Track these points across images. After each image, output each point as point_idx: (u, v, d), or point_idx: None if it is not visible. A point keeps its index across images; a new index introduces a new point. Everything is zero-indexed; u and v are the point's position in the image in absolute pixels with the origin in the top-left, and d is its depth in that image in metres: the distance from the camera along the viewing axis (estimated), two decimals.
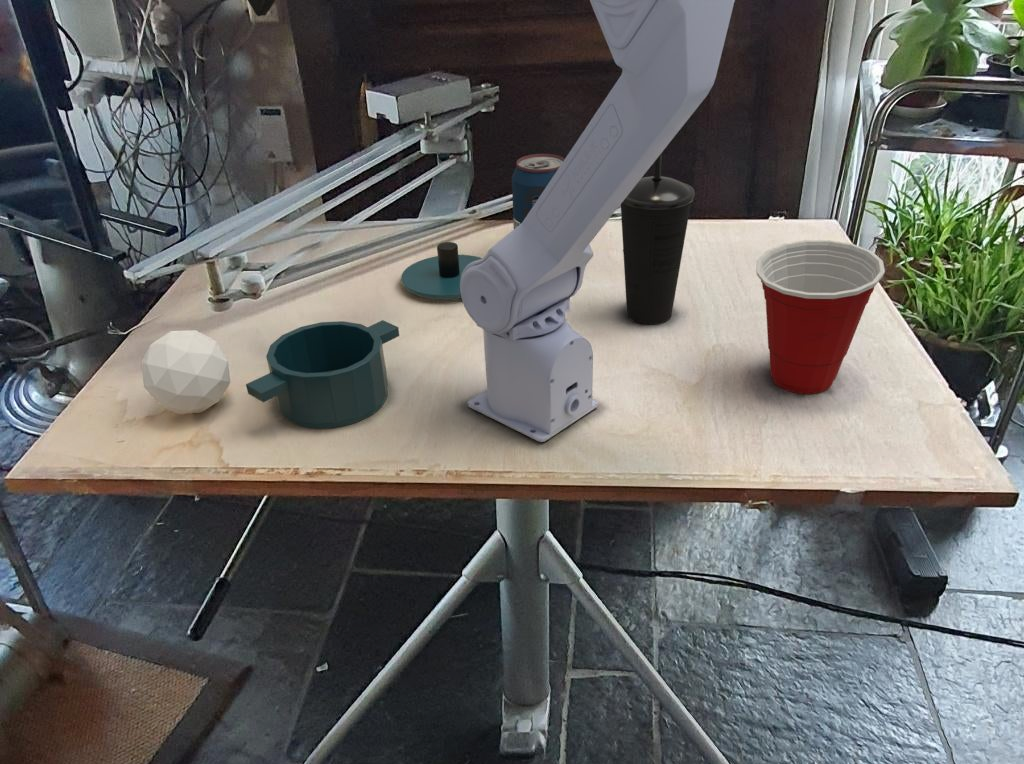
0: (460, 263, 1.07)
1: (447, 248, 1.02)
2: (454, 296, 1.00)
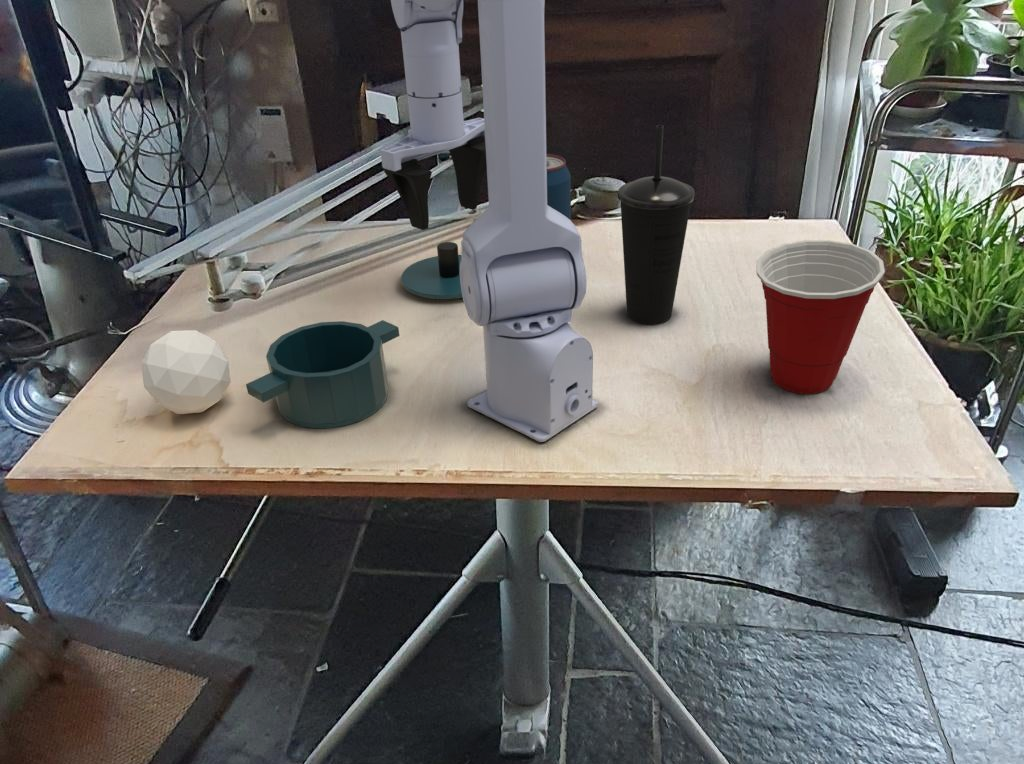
0: None
1: (447, 248, 1.02)
2: (454, 296, 1.00)
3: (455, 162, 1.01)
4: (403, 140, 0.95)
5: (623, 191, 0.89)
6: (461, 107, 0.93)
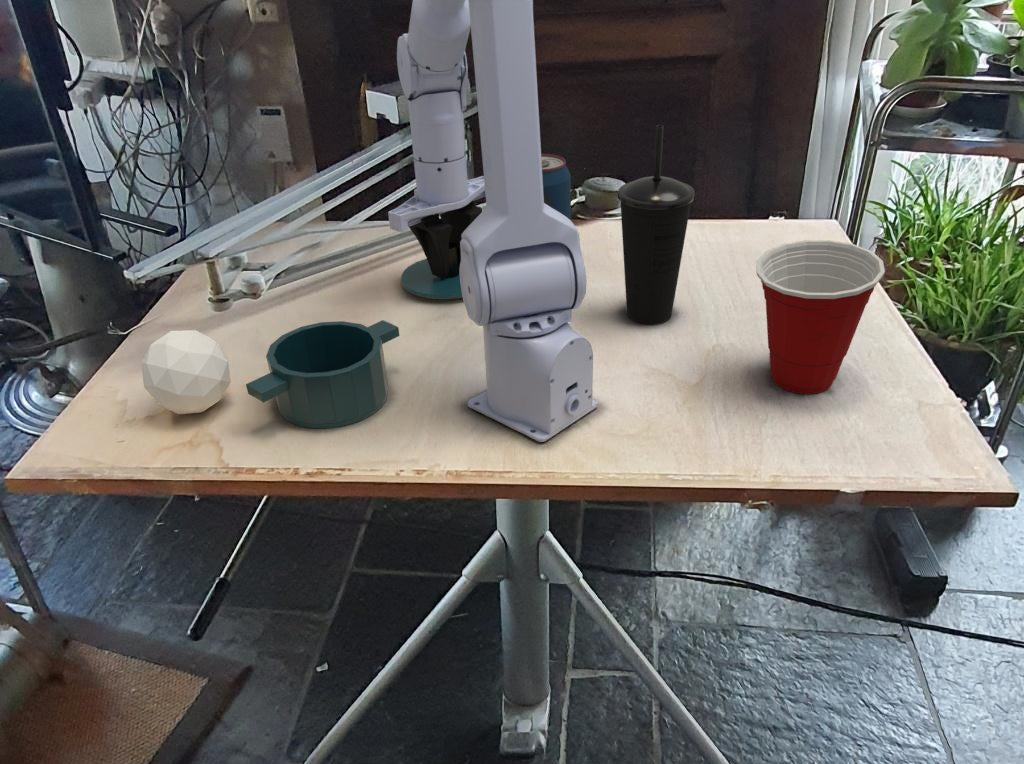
0: None
1: None
2: (454, 296, 1.00)
3: None
4: (409, 201, 0.98)
5: (623, 191, 0.89)
6: (465, 170, 0.97)
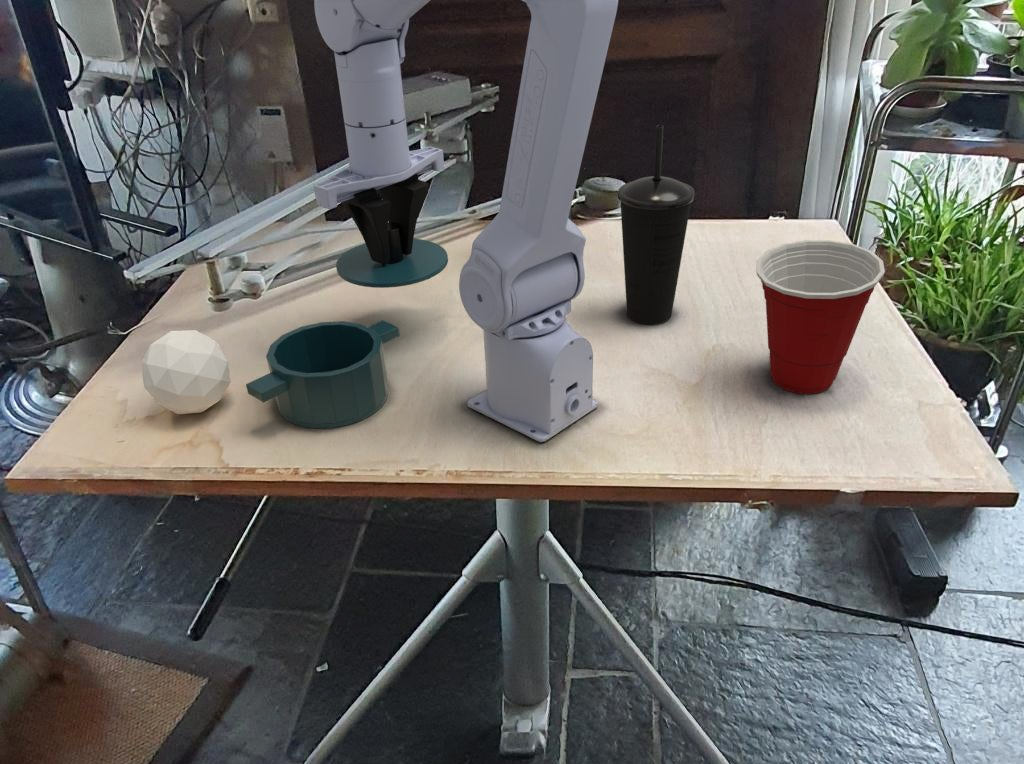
0: None
1: None
2: (394, 285, 0.87)
3: None
4: (341, 173, 0.85)
5: (623, 191, 0.89)
6: (405, 137, 0.83)
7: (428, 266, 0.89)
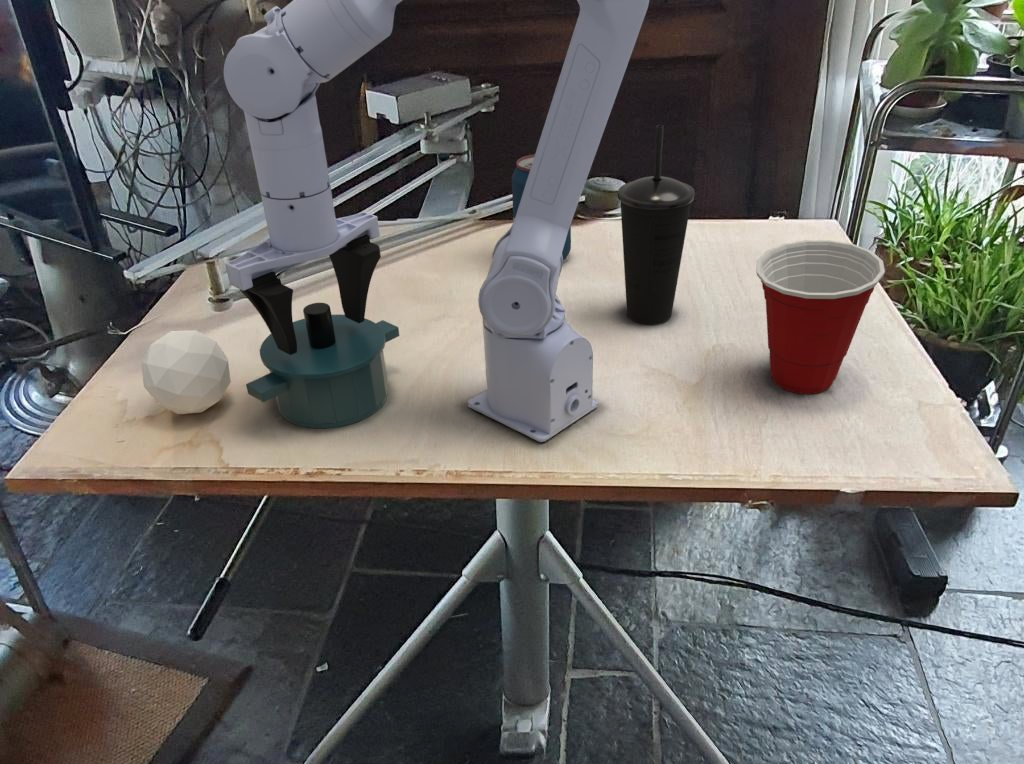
0: (340, 327, 0.84)
1: (315, 312, 0.79)
2: (321, 376, 0.77)
3: (335, 266, 0.81)
4: (259, 247, 0.75)
5: (623, 191, 0.89)
6: (330, 207, 0.74)
7: (362, 351, 0.80)
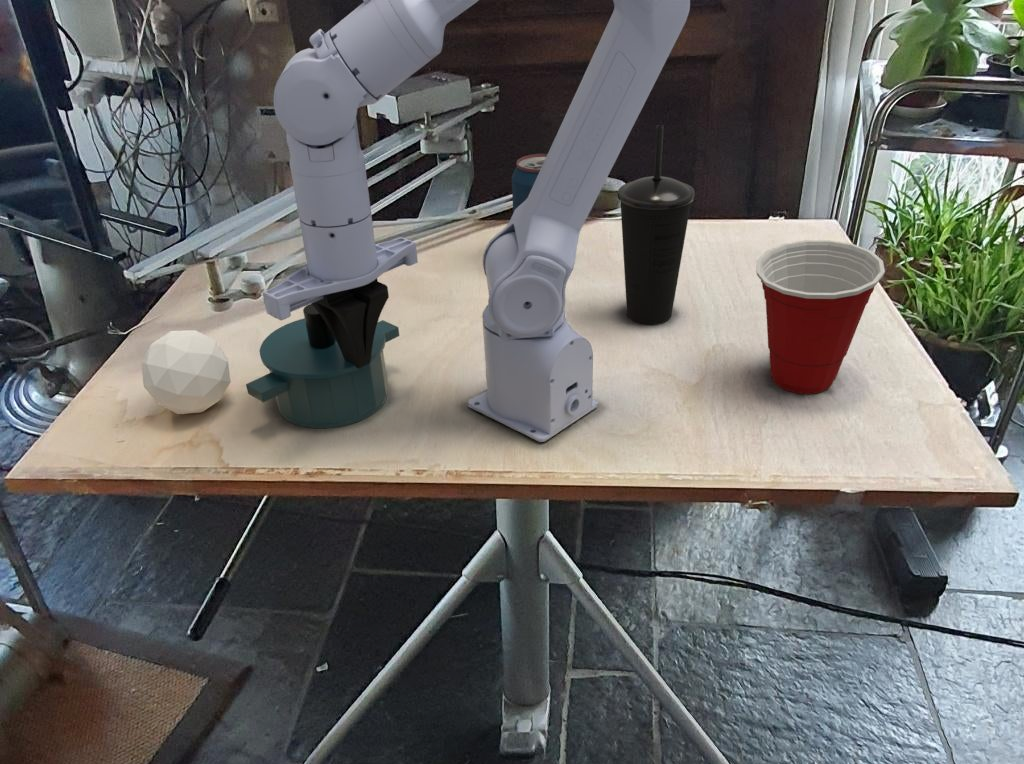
0: None
1: (315, 312, 0.79)
2: (321, 376, 0.77)
3: None
4: (297, 274, 0.73)
5: (623, 191, 0.89)
6: (371, 234, 0.71)
7: None
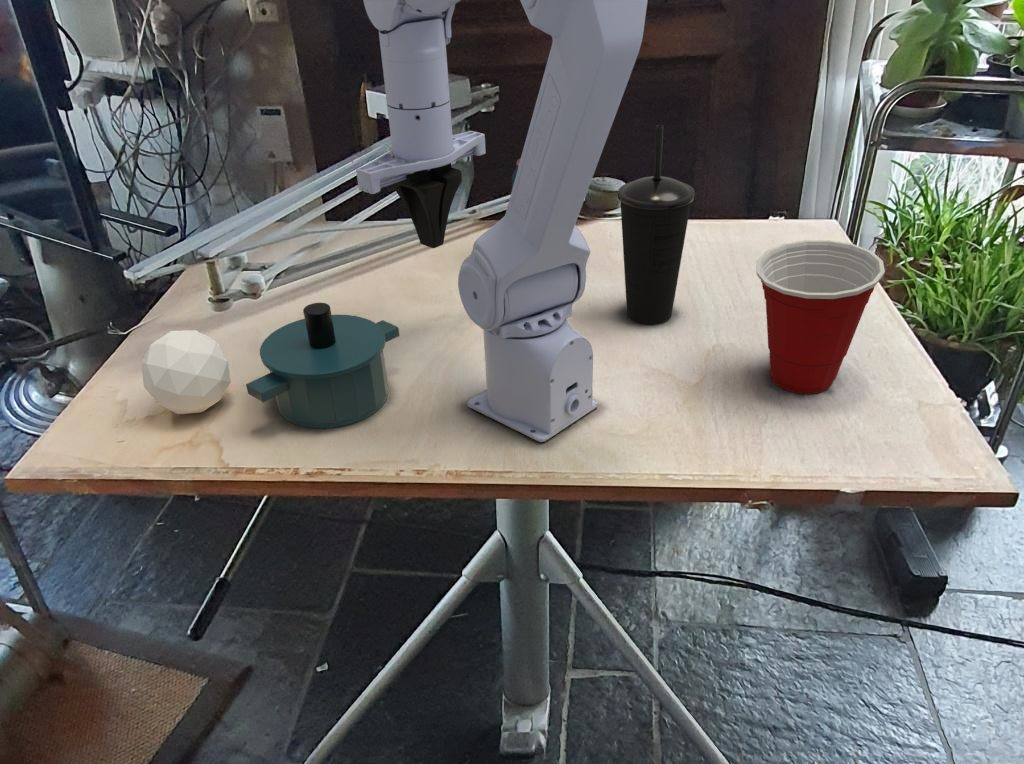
0: (340, 327, 0.84)
1: (315, 312, 0.79)
2: (321, 376, 0.77)
3: None
4: (383, 157, 0.82)
5: (623, 191, 0.89)
6: (449, 120, 0.81)
7: (362, 352, 0.80)
